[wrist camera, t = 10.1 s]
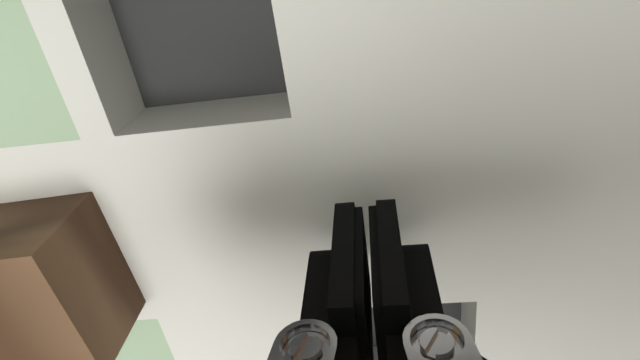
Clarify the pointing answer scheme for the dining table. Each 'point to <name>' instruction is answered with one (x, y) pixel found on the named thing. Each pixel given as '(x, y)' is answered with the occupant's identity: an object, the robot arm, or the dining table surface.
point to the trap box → (341, 156)
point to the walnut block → (63, 282)
